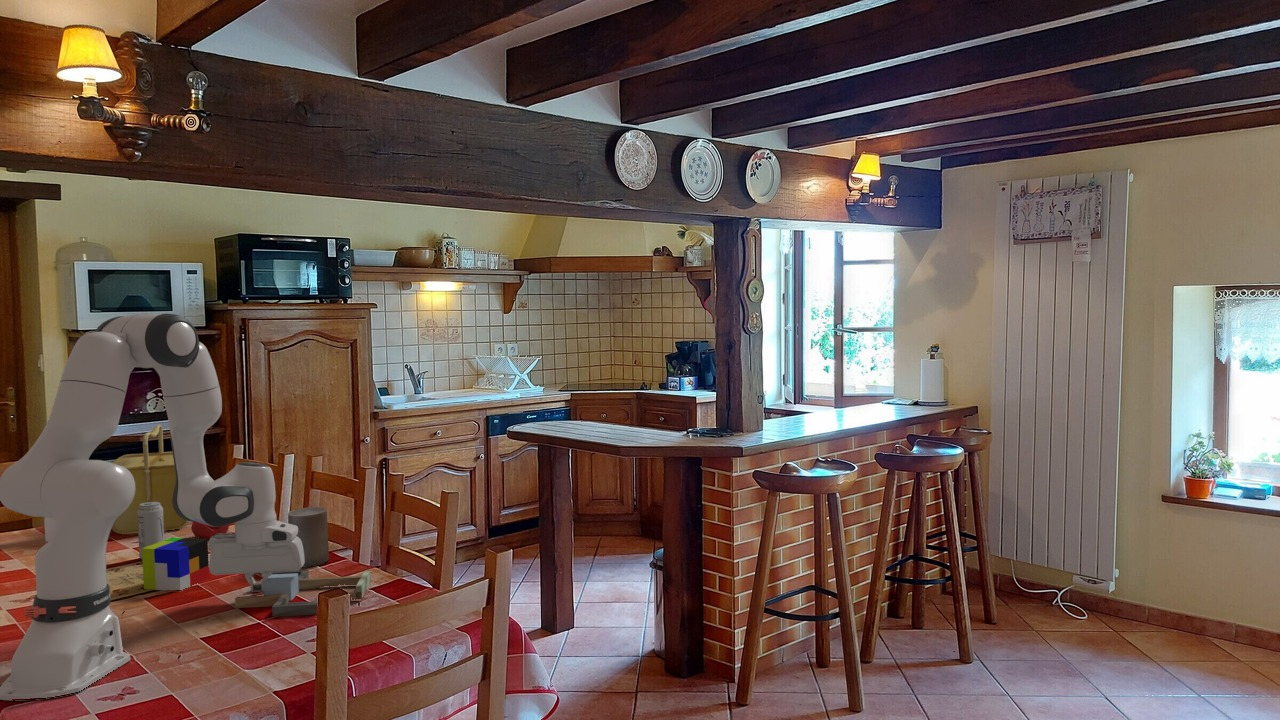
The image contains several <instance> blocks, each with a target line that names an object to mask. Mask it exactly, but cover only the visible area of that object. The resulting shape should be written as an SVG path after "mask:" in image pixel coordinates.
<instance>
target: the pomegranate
mask: <svg viewBox="0 0 1280 720" xmlns="http://www.w3.org/2000/svg"><path fill="white" fill-rule="evenodd" d="M229 528H230V524H229V525H226V526H222V527H213V526H209V525H205V524H202V523H199V522H193V521H192V524H191V532H192V533H193V536H195V538H196V539H210V538H211V537H212V536H215V534H218V533H222V534H226V533H228V531H229ZM214 538H215V537H214Z"/></svg>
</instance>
